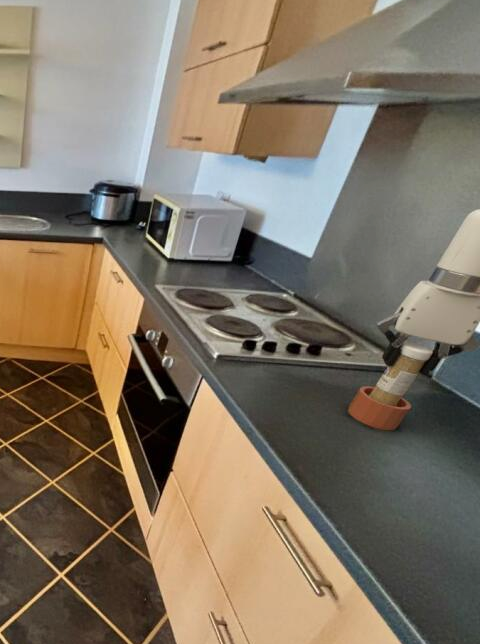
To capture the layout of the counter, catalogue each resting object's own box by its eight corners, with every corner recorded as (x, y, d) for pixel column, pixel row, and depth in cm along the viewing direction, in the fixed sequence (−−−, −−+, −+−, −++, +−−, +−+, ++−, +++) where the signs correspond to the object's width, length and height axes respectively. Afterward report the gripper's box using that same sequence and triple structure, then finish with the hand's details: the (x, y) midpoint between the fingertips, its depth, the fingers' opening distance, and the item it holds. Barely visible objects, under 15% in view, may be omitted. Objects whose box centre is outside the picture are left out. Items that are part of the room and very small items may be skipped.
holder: (391, 416, 90) (405, 395, 87) (400, 435, 83) (416, 414, 81) (345, 402, 93) (357, 382, 91) (350, 420, 87) (364, 399, 85)
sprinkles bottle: (363, 393, 89) (397, 338, 83) (390, 400, 88) (426, 344, 81) (372, 405, 85) (408, 348, 79) (400, 411, 84) (439, 354, 78)
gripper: (517, 287, 73) (455, 374, 82) (393, 266, 81) (347, 347, 89) (539, 299, 67) (470, 391, 76) (403, 275, 75) (353, 361, 84)
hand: (404, 366), depth 82 cm, fingers closed on sprinkles bottle, 4 cm apart
